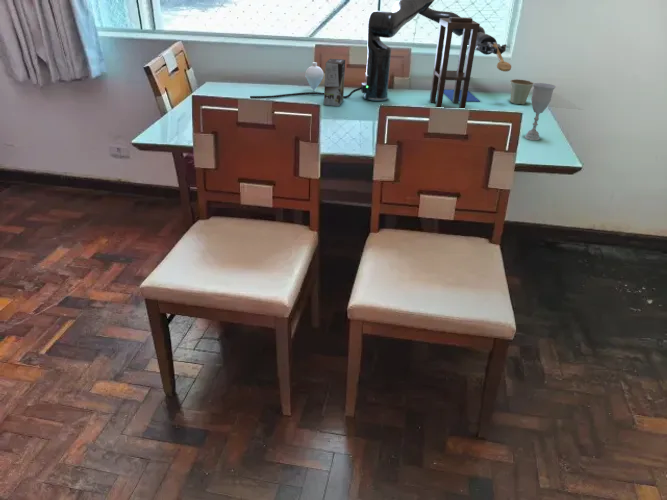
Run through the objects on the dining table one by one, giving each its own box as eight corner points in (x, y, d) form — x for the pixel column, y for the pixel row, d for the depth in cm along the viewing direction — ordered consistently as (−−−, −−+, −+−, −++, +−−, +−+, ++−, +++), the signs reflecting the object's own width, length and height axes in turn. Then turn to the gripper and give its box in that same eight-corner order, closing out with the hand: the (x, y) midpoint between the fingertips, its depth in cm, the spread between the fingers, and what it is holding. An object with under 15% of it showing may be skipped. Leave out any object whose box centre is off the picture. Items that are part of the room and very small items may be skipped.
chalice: (538, 135, 197) (551, 83, 188) (545, 141, 191) (559, 88, 182) (518, 134, 196) (529, 82, 187) (525, 140, 191) (537, 87, 182)
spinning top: (302, 93, 231) (303, 63, 225) (307, 89, 238) (308, 59, 232) (320, 95, 230) (321, 65, 224) (325, 90, 237) (326, 61, 231)
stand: (435, 109, 220) (448, 19, 203) (428, 101, 230) (440, 14, 213) (465, 110, 221) (480, 20, 204) (457, 101, 231) (470, 15, 215)
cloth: (451, 101, 232) (451, 100, 232) (441, 90, 247) (441, 89, 247) (479, 101, 233) (479, 101, 233) (467, 90, 248) (467, 90, 248)
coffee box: (339, 106, 217) (341, 63, 208) (323, 105, 217) (324, 62, 209) (343, 100, 224) (346, 59, 216) (328, 99, 225) (329, 57, 217)
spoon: (487, 46, 233) (491, 36, 229) (500, 46, 234) (504, 36, 229) (495, 78, 225) (499, 69, 220) (508, 79, 225) (513, 69, 221)
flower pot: (529, 101, 237) (533, 80, 233) (529, 106, 230) (534, 85, 225) (506, 98, 239) (510, 78, 235) (506, 104, 232) (510, 83, 227)
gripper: (498, 53, 246) (512, 61, 231) (468, 52, 244) (480, 60, 229) (502, 35, 242) (516, 42, 227) (471, 34, 241) (484, 41, 226)
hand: (498, 51), depth 228 cm, fingers closed on spoon, 1 cm apart
